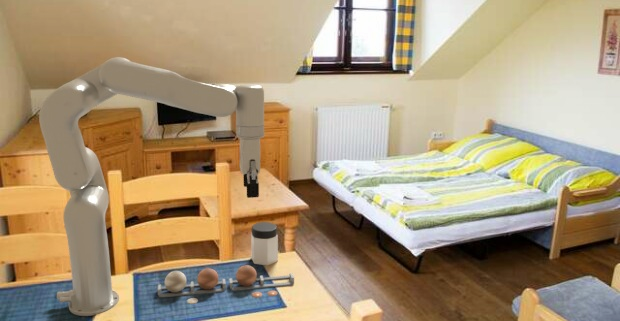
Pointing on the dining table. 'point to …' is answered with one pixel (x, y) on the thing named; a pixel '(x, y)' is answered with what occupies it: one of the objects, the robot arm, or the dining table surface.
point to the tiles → (255, 294)
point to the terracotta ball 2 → (246, 275)
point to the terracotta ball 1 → (207, 278)
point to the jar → (264, 243)
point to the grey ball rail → (230, 286)
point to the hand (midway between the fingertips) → (251, 191)
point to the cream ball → (175, 281)
